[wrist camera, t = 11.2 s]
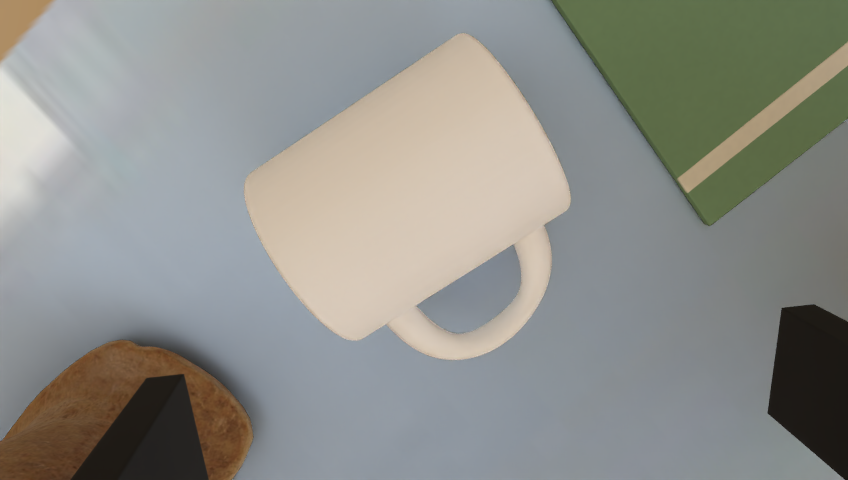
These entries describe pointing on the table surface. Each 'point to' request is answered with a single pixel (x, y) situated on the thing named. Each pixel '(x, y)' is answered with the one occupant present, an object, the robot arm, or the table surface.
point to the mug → (414, 201)
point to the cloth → (721, 83)
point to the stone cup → (102, 403)
